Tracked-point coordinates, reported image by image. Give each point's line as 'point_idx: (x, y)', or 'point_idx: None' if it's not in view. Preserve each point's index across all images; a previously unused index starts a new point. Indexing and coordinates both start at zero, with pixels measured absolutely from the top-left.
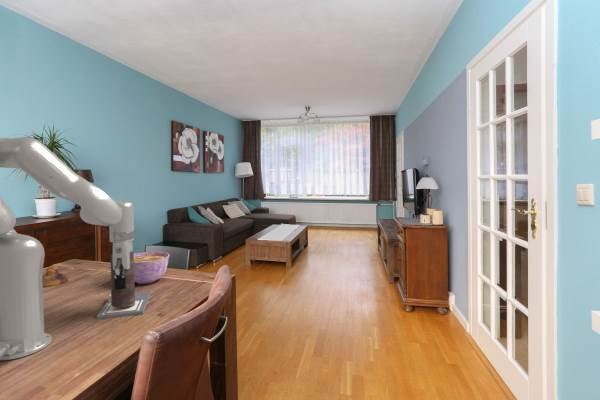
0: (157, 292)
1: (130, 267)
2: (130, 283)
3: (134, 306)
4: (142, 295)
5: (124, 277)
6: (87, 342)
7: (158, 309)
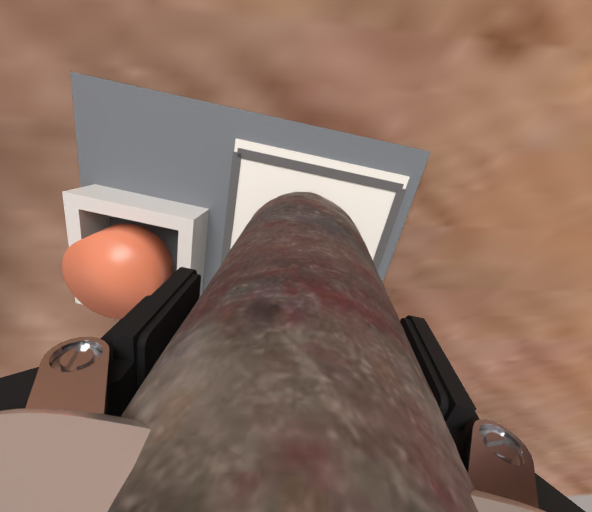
0: (63, 20)
1: (460, 489)
2: (381, 287)
3: (332, 195)
4: (142, 136)
5: (470, 414)
6: (570, 362)
7: (412, 45)
